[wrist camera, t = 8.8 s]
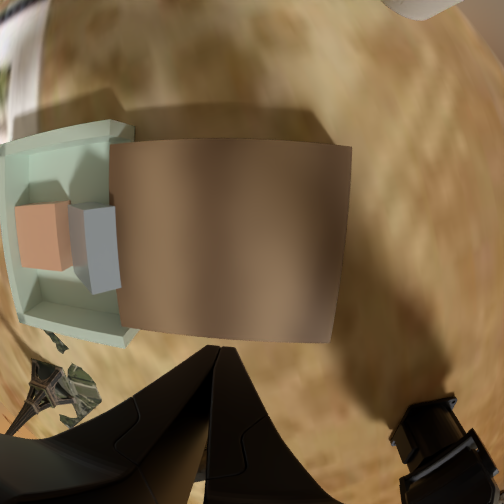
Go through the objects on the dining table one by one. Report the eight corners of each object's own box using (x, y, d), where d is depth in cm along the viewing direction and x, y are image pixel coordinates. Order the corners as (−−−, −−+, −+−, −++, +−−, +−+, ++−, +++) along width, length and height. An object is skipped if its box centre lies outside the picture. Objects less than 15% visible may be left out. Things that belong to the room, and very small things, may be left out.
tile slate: (115, 206, 15) (83, 210, 14) (121, 287, 17) (92, 294, 15) (92, 201, 19) (67, 204, 17) (97, 267, 20) (74, 272, 18)
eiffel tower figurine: (73, 428, 28) (30, 495, 15) (18, 376, 26) (-36, 433, 13) (116, 387, 24) (56, 486, 12) (44, 317, 23) (-42, 389, 10)
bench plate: (339, 150, 17) (352, 146, 15) (322, 321, 21) (329, 343, 18) (130, 147, 18) (109, 144, 15) (137, 308, 21) (121, 326, 18)
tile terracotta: (14, 206, 17) (29, 203, 19) (21, 267, 18) (36, 260, 20) (54, 203, 17) (70, 200, 19) (62, 271, 18) (76, 263, 20)
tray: (134, 126, 18) (110, 119, 14) (142, 325, 22) (125, 348, 18) (26, 145, 18) (-1, 145, 15) (41, 306, 22) (19, 322, 19)
